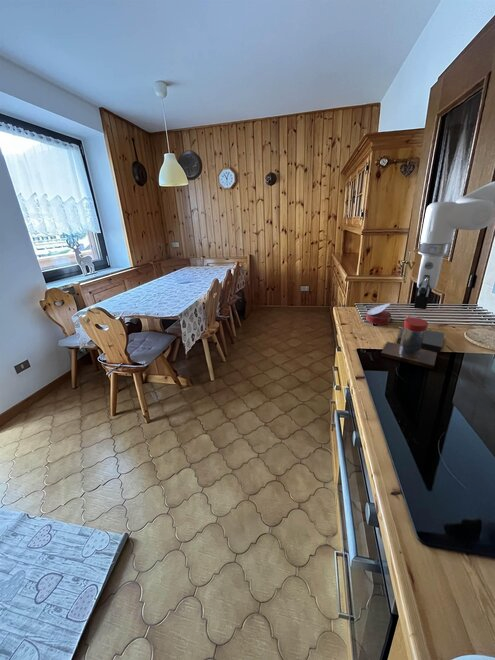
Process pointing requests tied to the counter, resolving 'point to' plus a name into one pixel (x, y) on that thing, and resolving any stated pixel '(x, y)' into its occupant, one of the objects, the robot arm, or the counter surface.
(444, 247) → the robot arm
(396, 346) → the board
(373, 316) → the canned food
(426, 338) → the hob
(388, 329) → the counter surface
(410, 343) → the jar with red lid
